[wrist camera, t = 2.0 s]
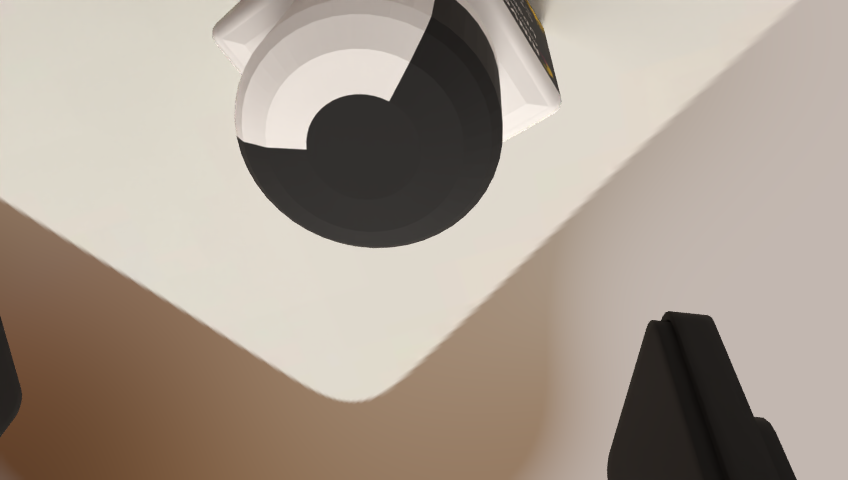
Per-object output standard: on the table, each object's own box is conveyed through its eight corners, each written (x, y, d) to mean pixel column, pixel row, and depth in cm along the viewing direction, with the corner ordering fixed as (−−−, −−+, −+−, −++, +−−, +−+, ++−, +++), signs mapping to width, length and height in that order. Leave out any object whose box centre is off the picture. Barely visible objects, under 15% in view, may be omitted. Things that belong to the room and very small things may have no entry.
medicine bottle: (547, 34, 26) (589, 195, 16) (385, 133, 29) (334, 327, 19) (437, -154, 24) (403, -102, 13) (267, -26, 26) (129, 101, 16)
